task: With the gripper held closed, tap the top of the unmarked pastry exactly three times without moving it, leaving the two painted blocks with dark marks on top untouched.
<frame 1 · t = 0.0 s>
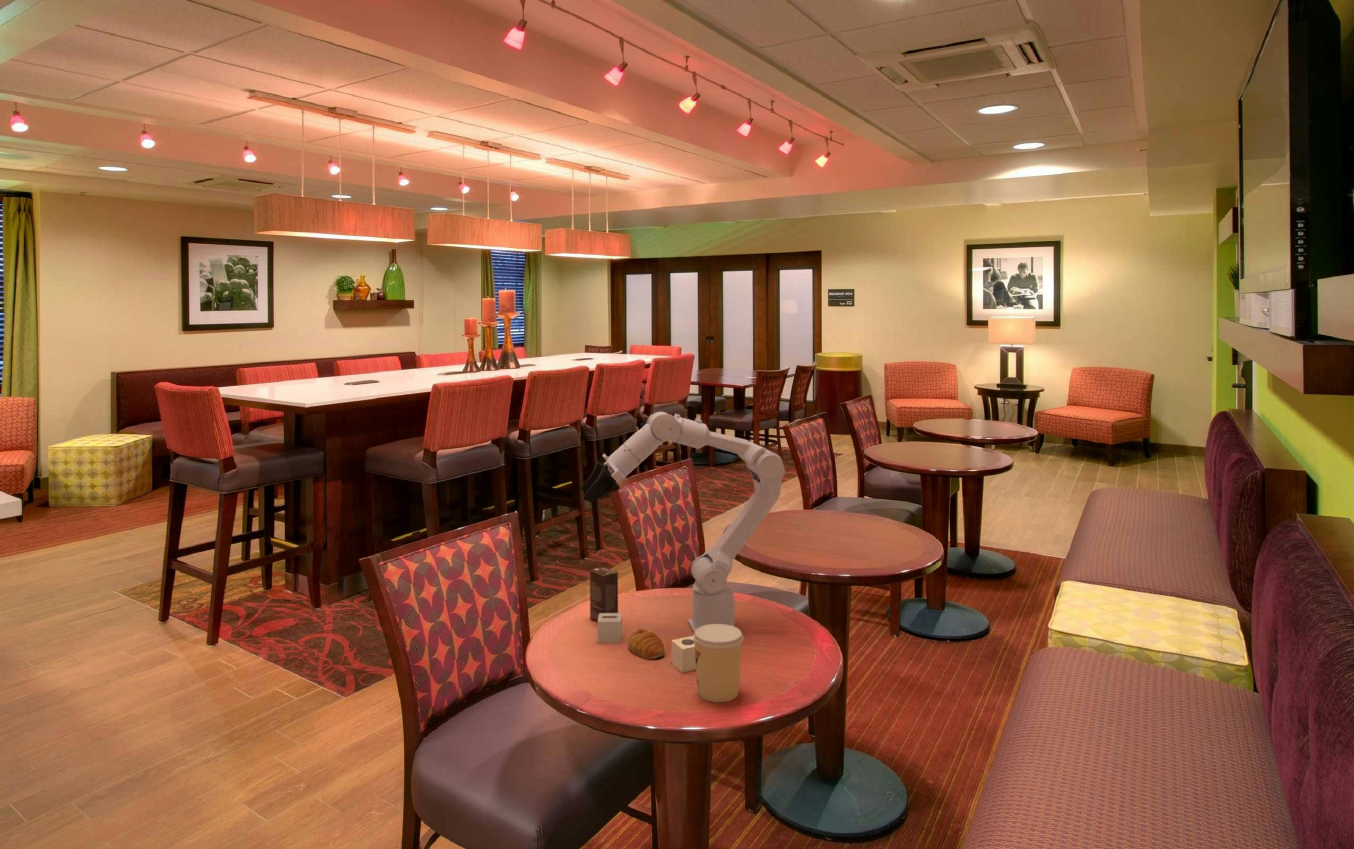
hand: (585, 495, 174), 32 cm above the table, tool tilted 50°, fingers open, 7 cm apart
marked block grey: (609, 638, 178), on the table
box: (604, 621, 188), on the table
marked block cream: (687, 665, 164), on the table
coffee cup: (718, 693, 152), on the table
pastry: (647, 652, 171), on the table
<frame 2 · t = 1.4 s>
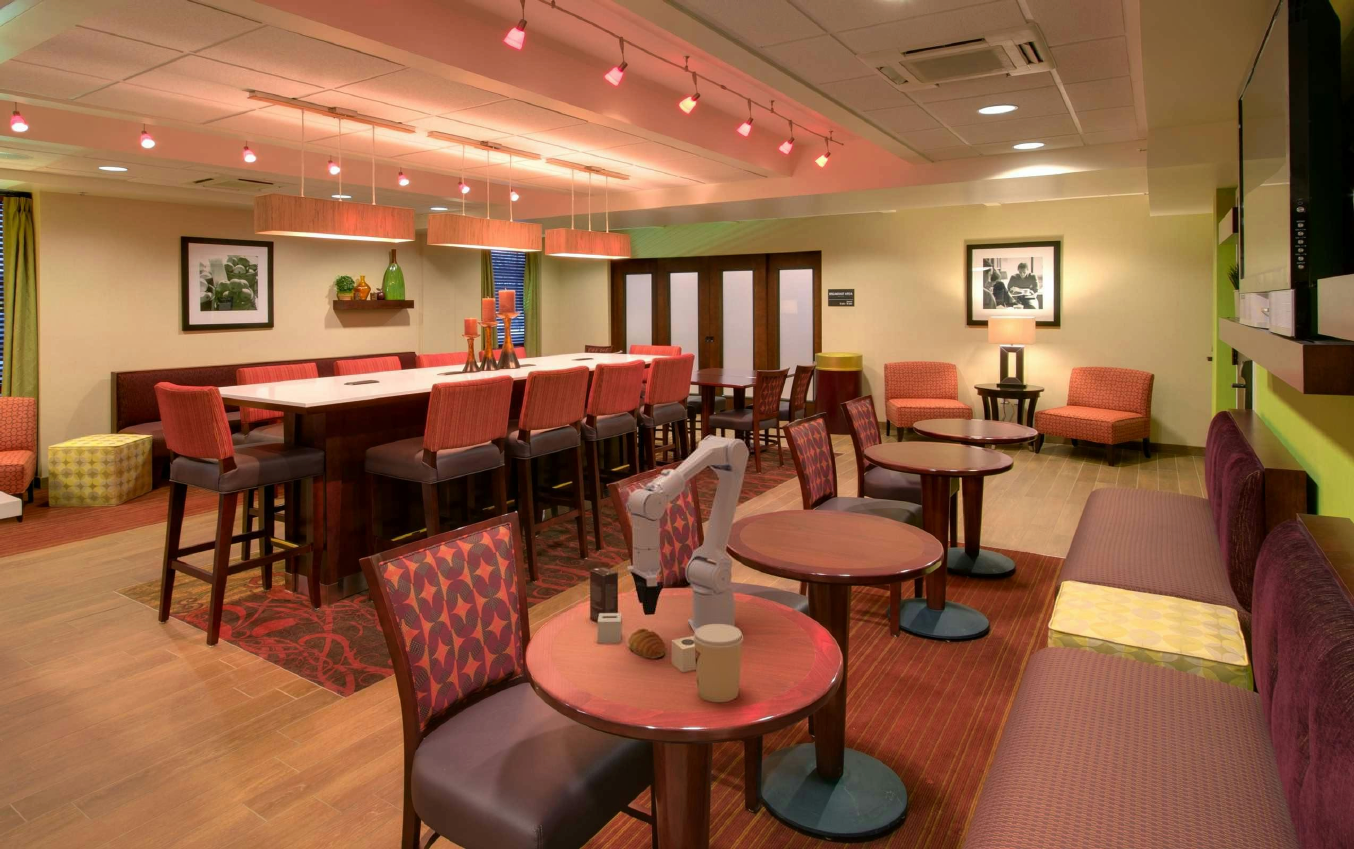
hand: (646, 608, 170), 9 cm above the table, tool pointing down, fingers open, 6 cm apart
nothing on the table moved.
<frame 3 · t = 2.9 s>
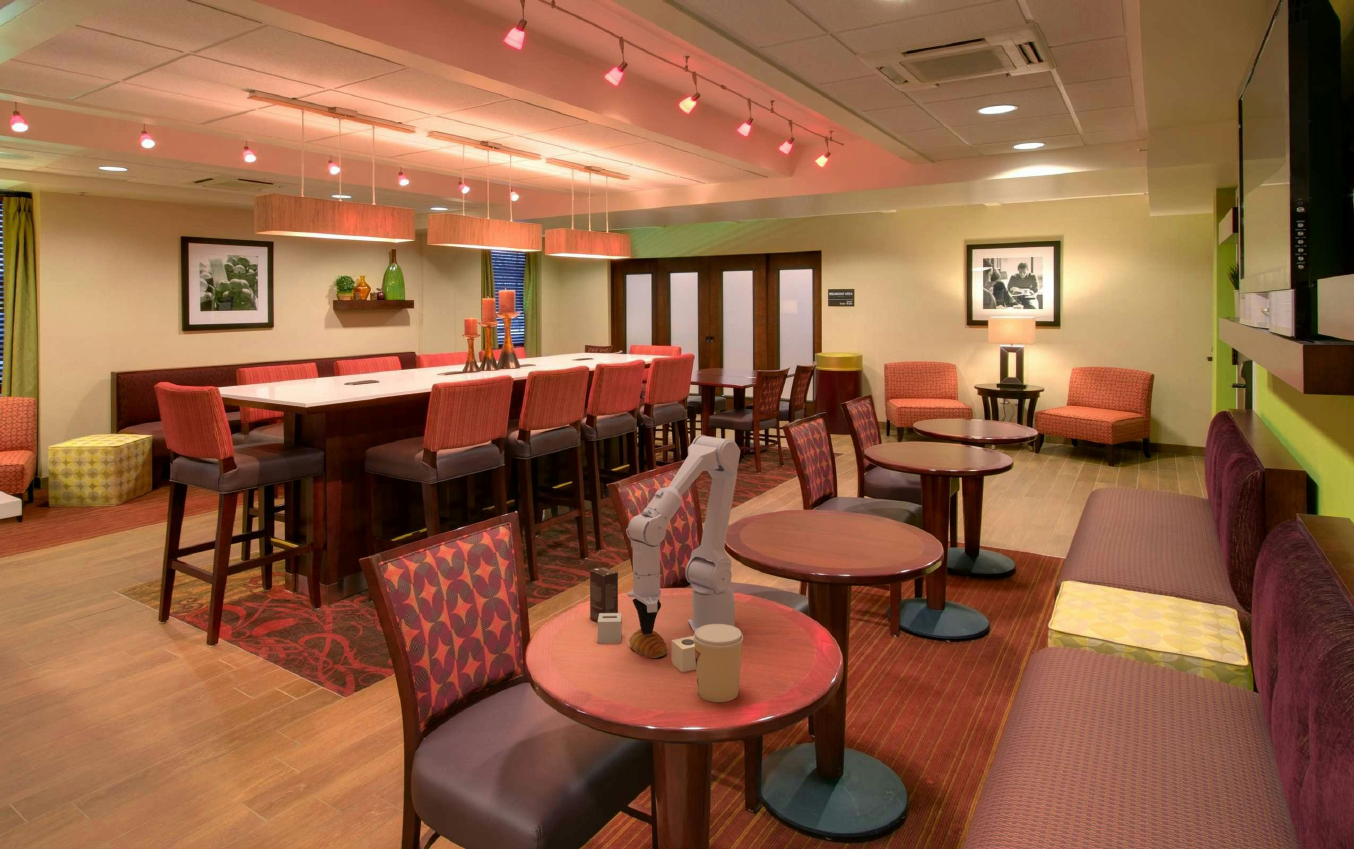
hand: (647, 632, 171), 4 cm above the table, tool pointing down, fingers closed
nothing on the table moved.
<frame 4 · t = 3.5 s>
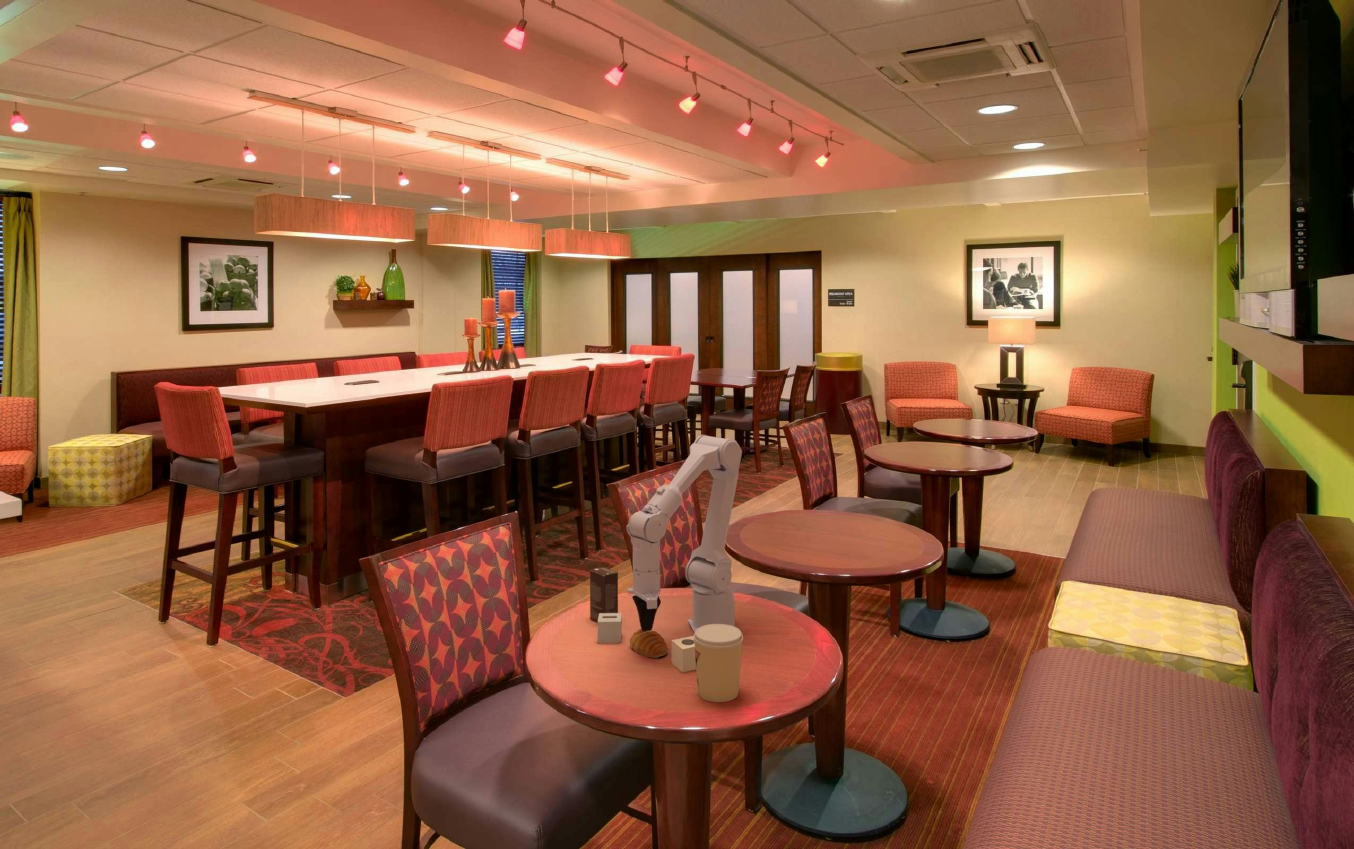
hand: (646, 629, 171), 5 cm above the table, tool pointing down, fingers closed
nothing on the table moved.
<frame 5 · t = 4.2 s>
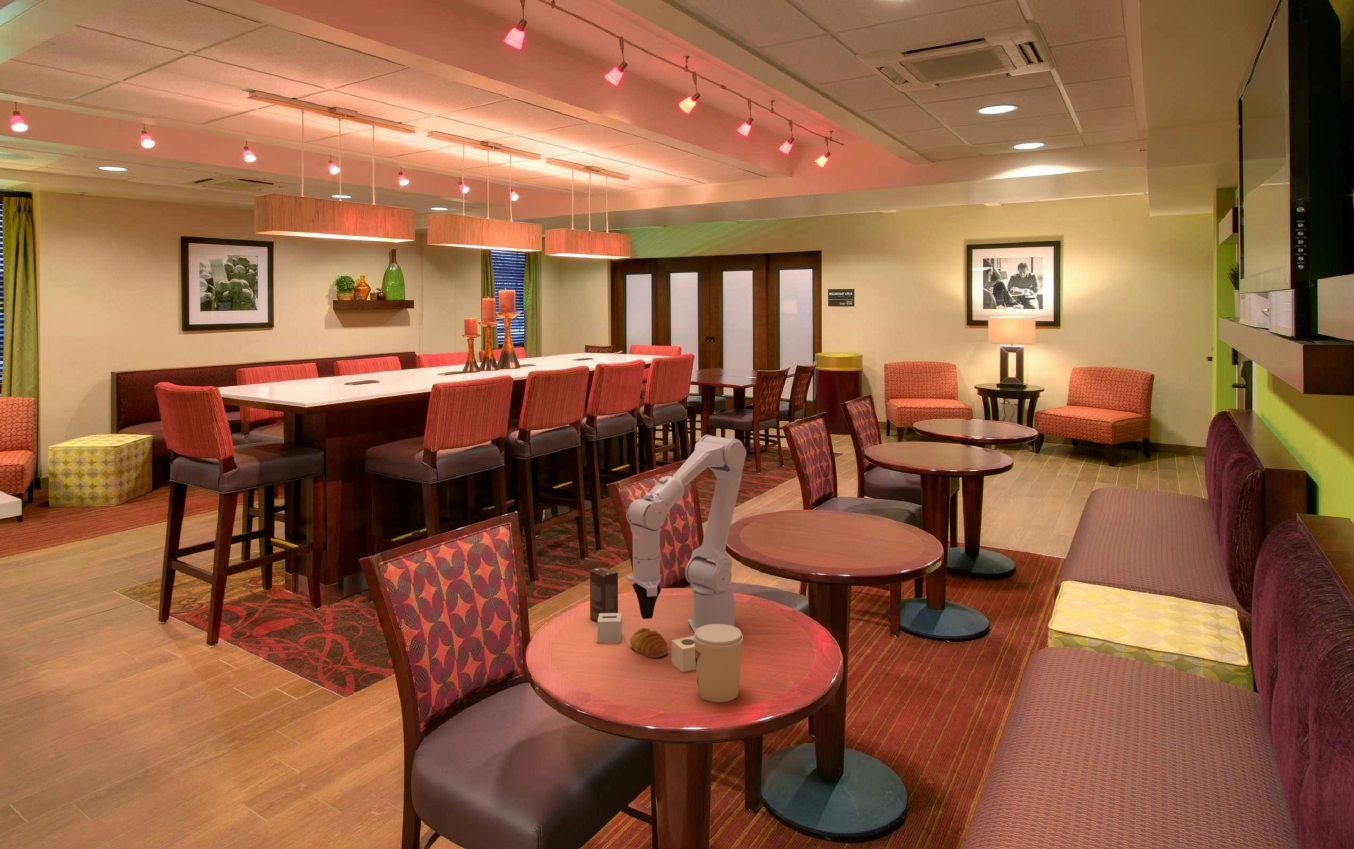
hand: (646, 617, 170), 7 cm above the table, tool pointing down, fingers closed
nothing on the table moved.
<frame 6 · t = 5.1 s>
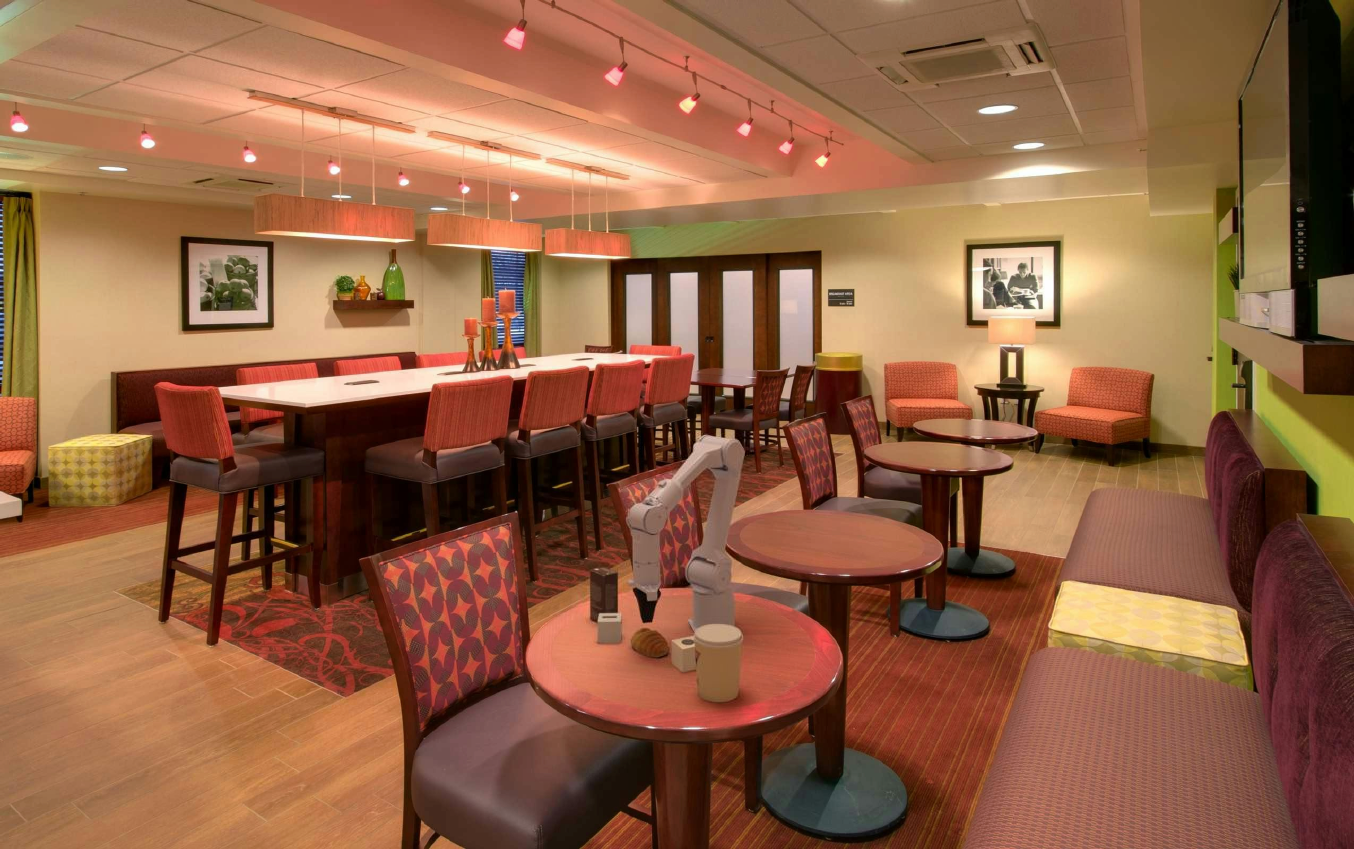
hand: (647, 621, 170), 6 cm above the table, tool pointing down, fingers closed
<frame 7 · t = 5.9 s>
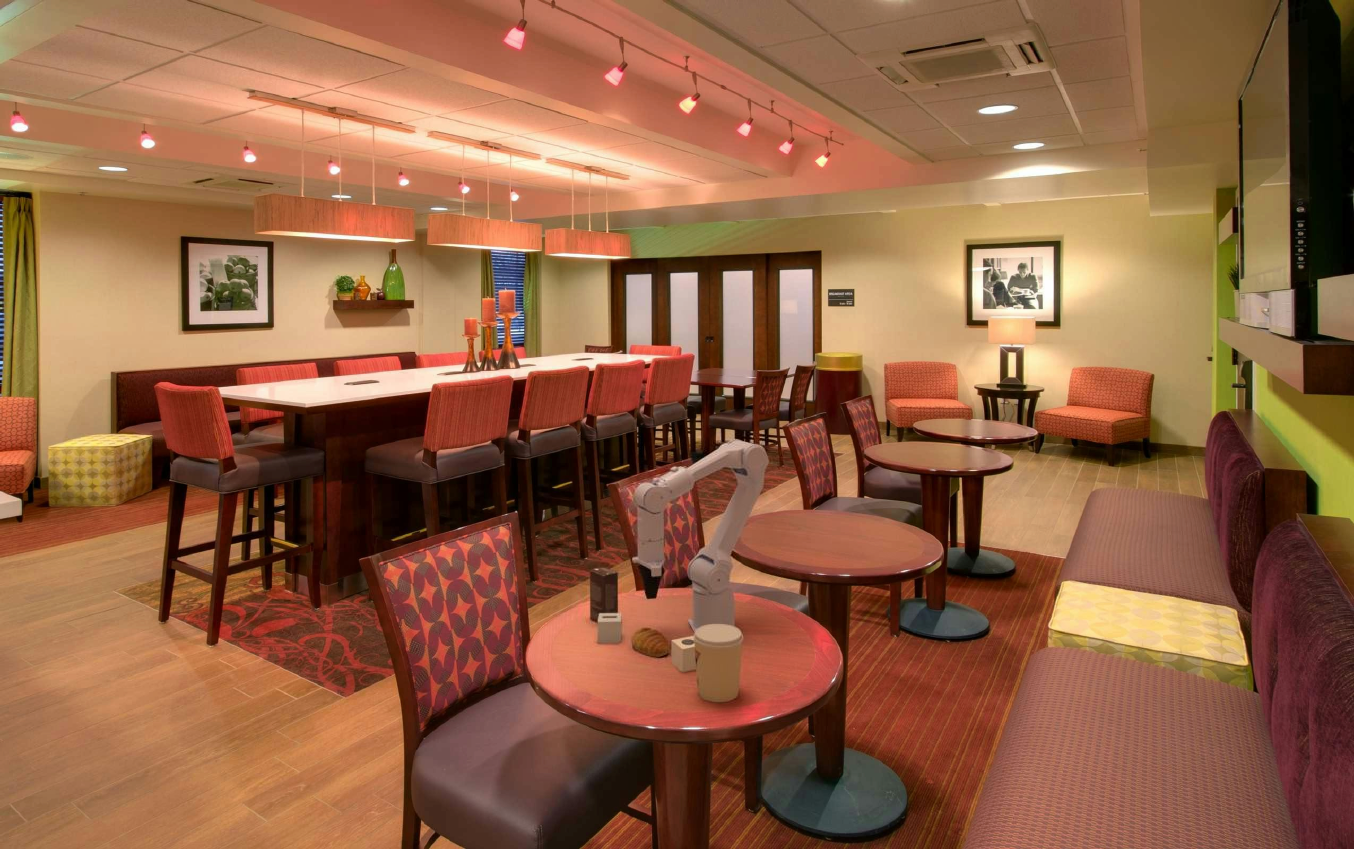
hand: (651, 597, 176), 9 cm above the table, tool pointing down, fingers closed
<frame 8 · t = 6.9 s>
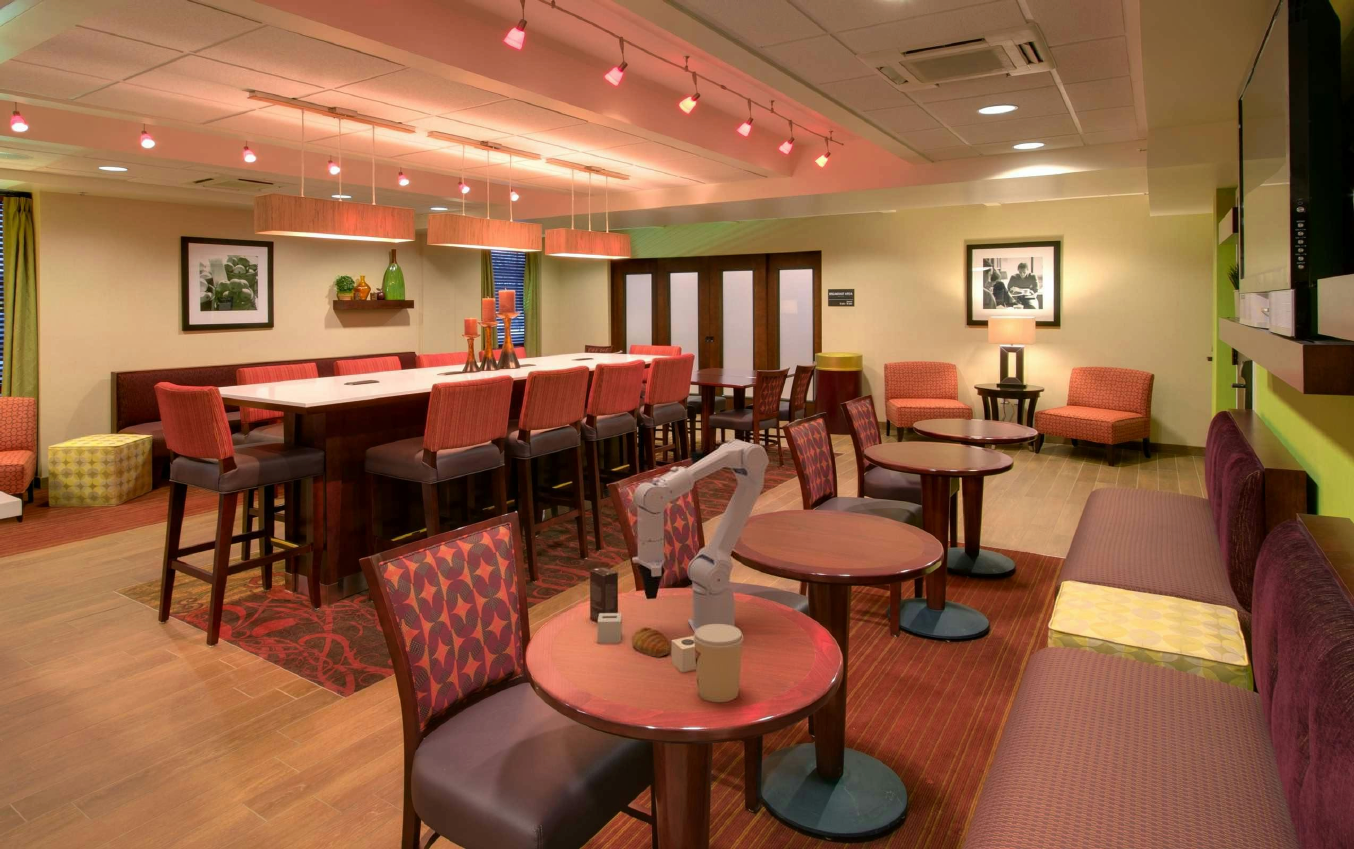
hand: (651, 597, 176), 9 cm above the table, tool pointing down, fingers closed
at the end: pastry moved 1.8 cm from its start; pastry tilted 0°; marked block grey moved 0.1 cm from its start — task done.
